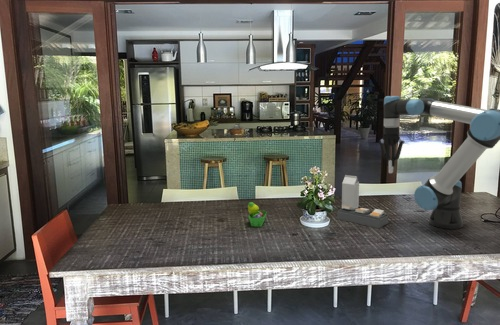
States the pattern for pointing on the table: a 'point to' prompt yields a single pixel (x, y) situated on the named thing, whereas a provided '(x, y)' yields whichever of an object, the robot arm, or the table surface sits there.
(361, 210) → the middle rocker
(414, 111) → the robot arm
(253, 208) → the chick basket toy
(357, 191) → the milk carton
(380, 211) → the near rocker
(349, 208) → the far rocker
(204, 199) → the table surface
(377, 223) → the switch panel
